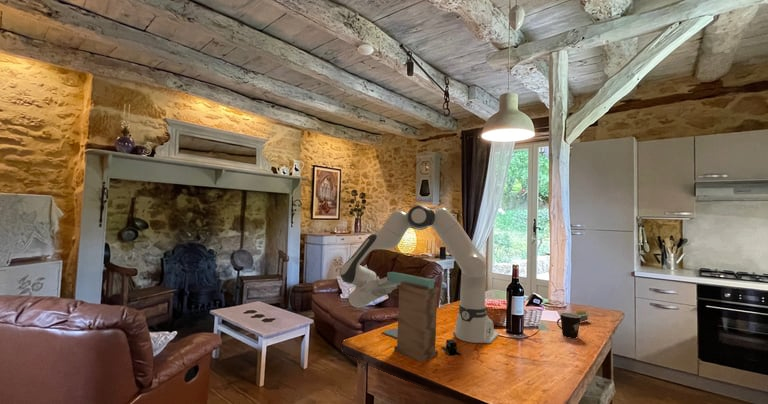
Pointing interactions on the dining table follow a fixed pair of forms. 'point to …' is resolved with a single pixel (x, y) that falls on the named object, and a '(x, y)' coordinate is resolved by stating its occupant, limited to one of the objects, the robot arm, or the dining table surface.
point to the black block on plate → (451, 348)
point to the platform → (582, 315)
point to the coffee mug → (569, 324)
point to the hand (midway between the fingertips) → (395, 277)
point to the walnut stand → (417, 321)
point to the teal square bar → (410, 279)
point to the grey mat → (391, 332)
